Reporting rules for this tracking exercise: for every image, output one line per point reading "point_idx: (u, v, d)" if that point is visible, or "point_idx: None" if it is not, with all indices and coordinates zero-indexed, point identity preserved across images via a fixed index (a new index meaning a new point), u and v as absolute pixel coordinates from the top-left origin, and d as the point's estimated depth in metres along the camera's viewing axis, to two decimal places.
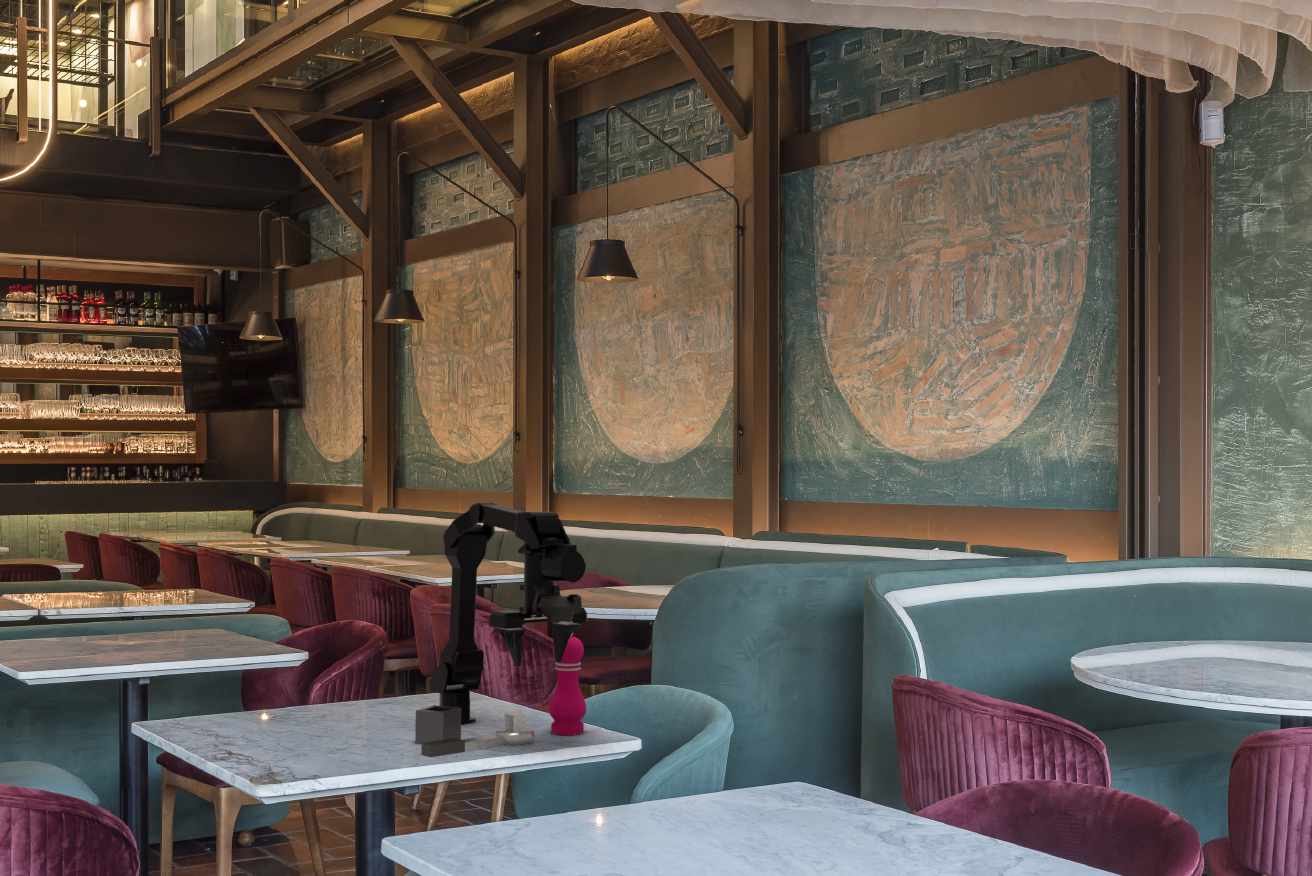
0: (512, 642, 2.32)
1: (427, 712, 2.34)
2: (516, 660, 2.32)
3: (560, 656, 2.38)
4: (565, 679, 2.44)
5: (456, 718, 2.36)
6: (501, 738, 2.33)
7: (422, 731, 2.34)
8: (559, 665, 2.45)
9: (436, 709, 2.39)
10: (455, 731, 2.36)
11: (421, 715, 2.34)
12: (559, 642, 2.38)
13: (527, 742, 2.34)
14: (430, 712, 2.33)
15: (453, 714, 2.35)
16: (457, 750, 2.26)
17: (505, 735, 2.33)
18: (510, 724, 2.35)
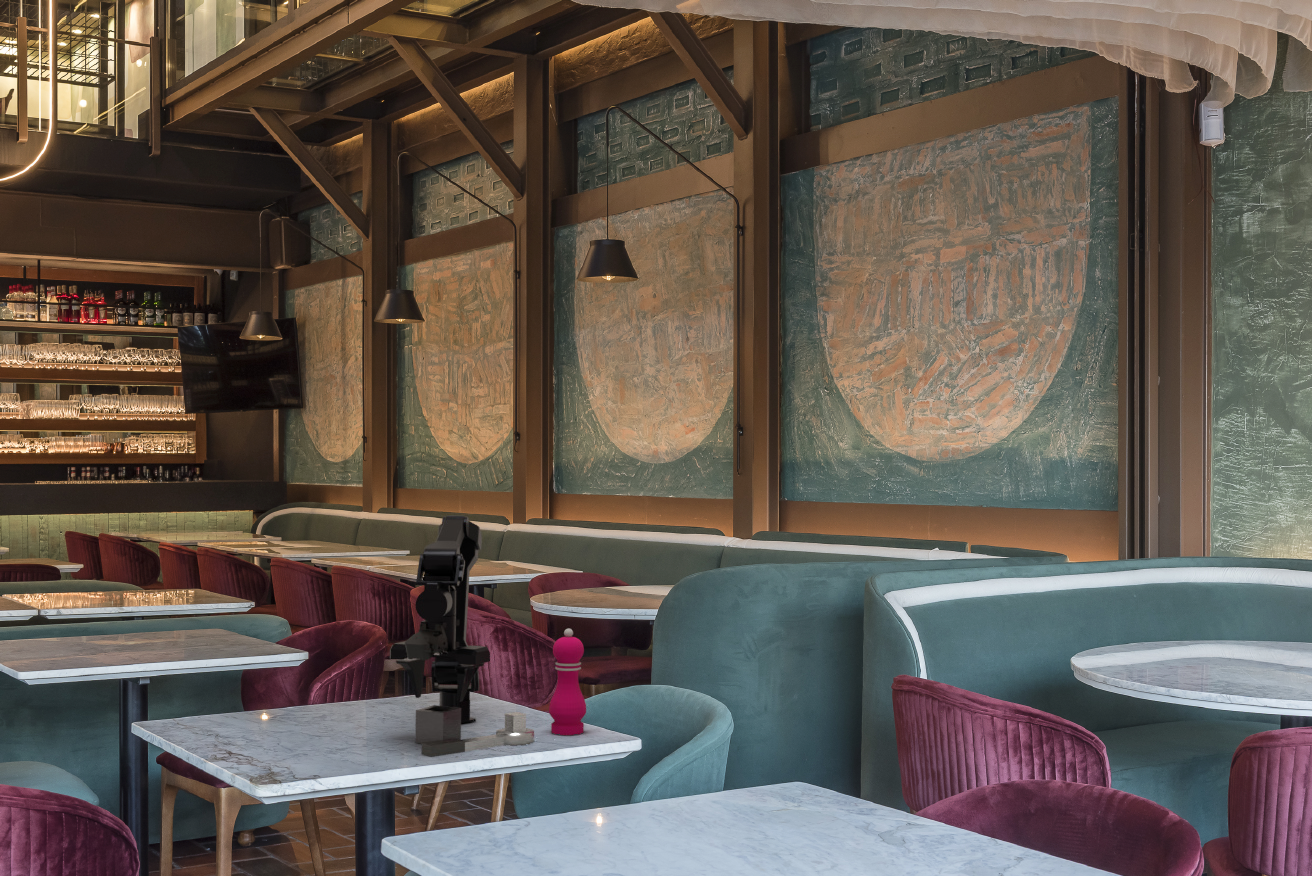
0: None
1: (427, 712, 2.34)
2: None
3: (457, 696, 2.34)
4: (565, 679, 2.44)
5: (456, 718, 2.36)
6: (501, 738, 2.33)
7: (422, 732, 2.34)
8: (559, 665, 2.45)
9: (436, 709, 2.39)
10: (455, 731, 2.36)
11: (421, 715, 2.34)
12: None
13: (527, 742, 2.34)
14: (430, 712, 2.33)
15: (453, 714, 2.35)
16: (457, 750, 2.26)
17: (505, 735, 2.33)
18: (510, 724, 2.35)
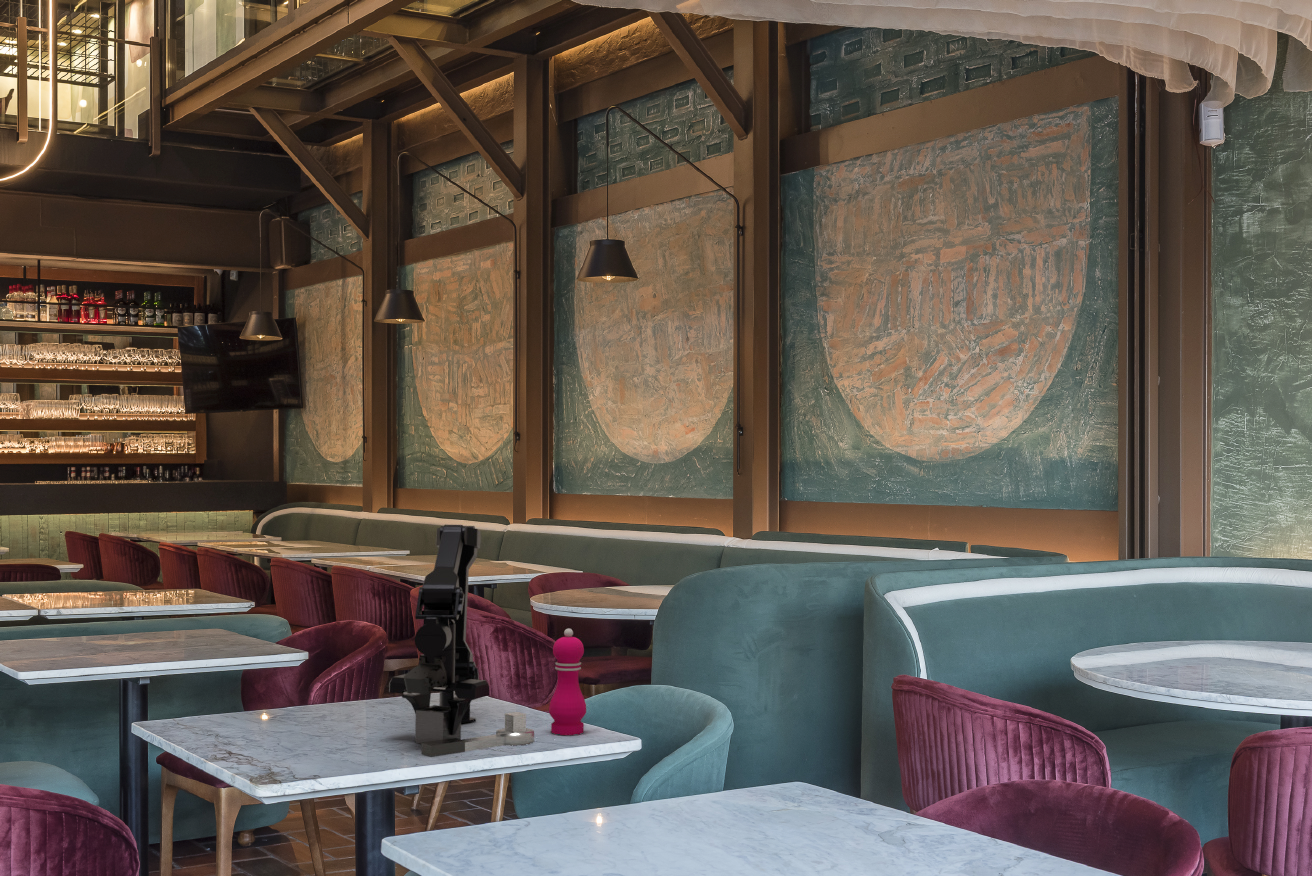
0: None
1: (427, 712, 2.34)
2: None
3: (450, 729, 2.34)
4: (565, 679, 2.44)
5: None
6: (501, 738, 2.33)
7: (422, 731, 2.34)
8: (559, 665, 2.45)
9: (436, 709, 2.39)
10: None
11: (421, 715, 2.34)
12: None
13: (527, 742, 2.34)
14: (430, 712, 2.33)
15: None
16: (457, 750, 2.26)
17: (505, 735, 2.33)
18: (510, 724, 2.35)
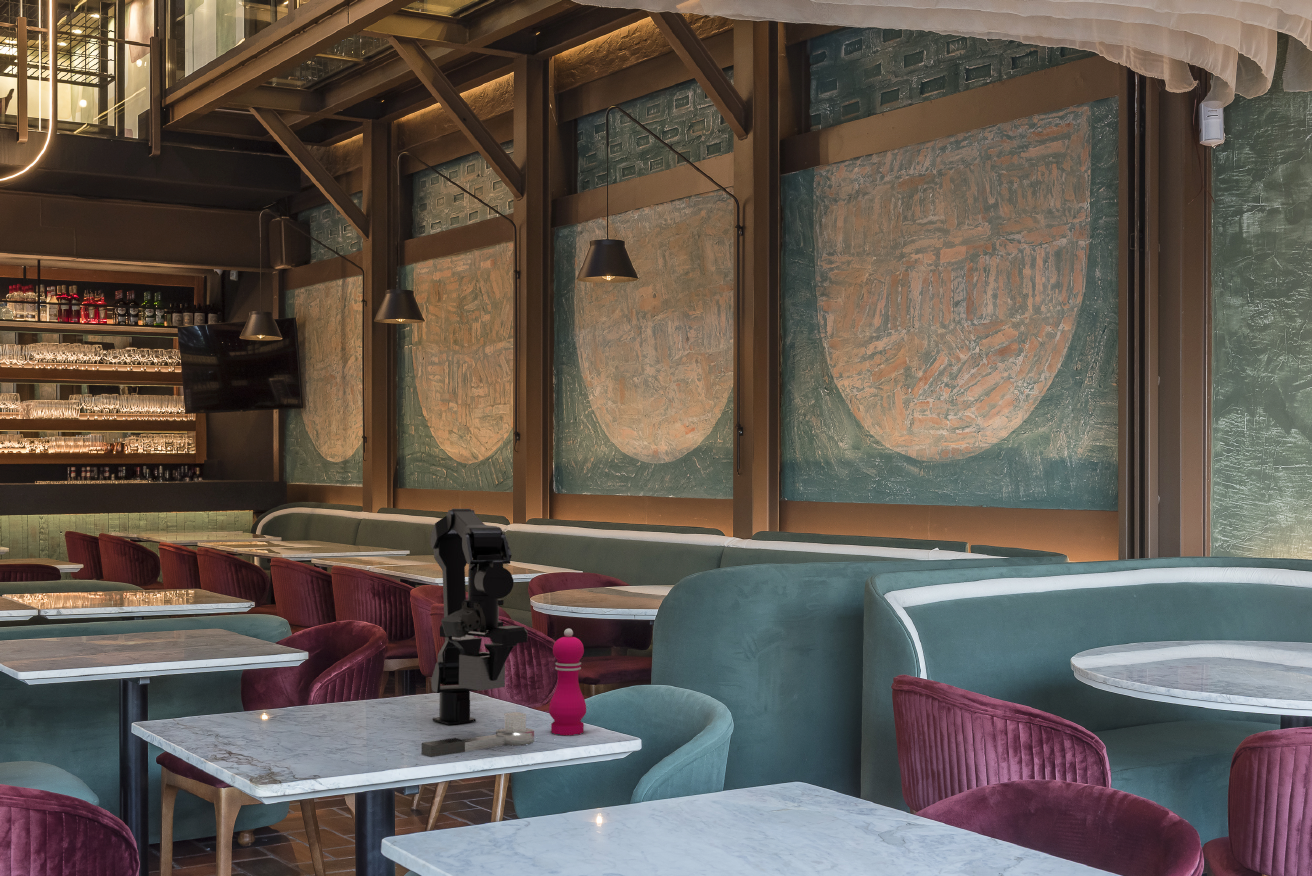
0: None
1: (468, 656, 2.35)
2: None
3: (490, 674, 2.34)
4: (565, 679, 2.44)
5: None
6: (501, 738, 2.33)
7: (464, 676, 2.35)
8: (559, 665, 2.44)
9: (483, 655, 2.39)
10: None
11: (463, 659, 2.35)
12: None
13: (527, 742, 2.34)
14: (470, 657, 2.34)
15: None
16: (457, 750, 2.26)
17: (505, 735, 2.33)
18: (510, 724, 2.35)
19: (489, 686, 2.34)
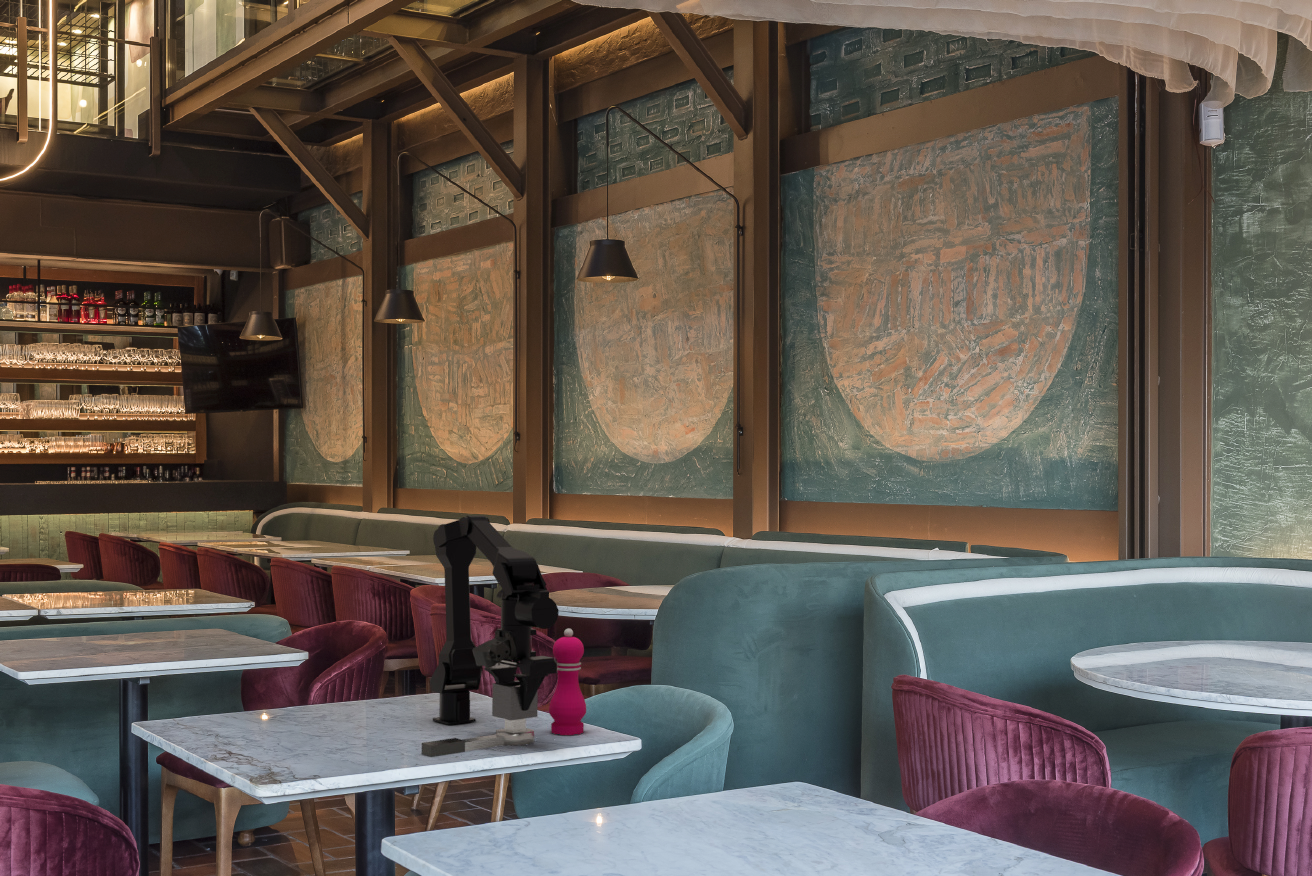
0: None
1: (500, 686, 2.35)
2: None
3: None
4: (565, 679, 2.44)
5: None
6: (501, 738, 2.33)
7: (497, 705, 2.36)
8: (559, 665, 2.45)
9: (518, 684, 2.40)
10: (529, 707, 2.35)
11: (496, 688, 2.36)
12: None
13: (527, 742, 2.34)
14: (502, 686, 2.35)
15: None
16: (457, 750, 2.26)
17: (505, 735, 2.33)
18: (510, 724, 2.35)
19: (520, 716, 2.34)
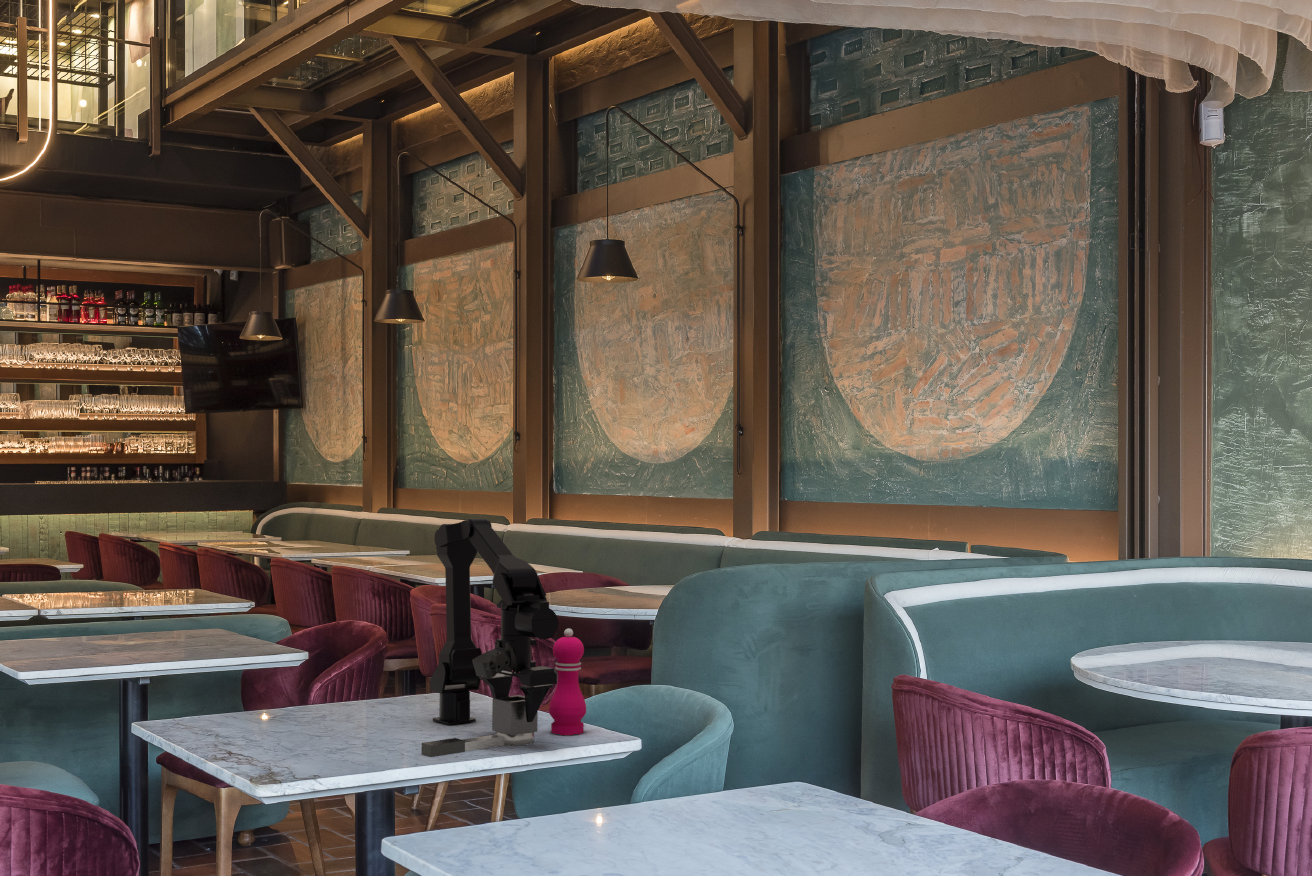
0: None
1: (500, 701, 2.35)
2: None
3: (526, 716, 2.33)
4: (565, 679, 2.44)
5: None
6: (501, 738, 2.33)
7: (497, 720, 2.36)
8: (559, 665, 2.45)
9: (518, 699, 2.39)
10: (529, 722, 2.35)
11: (496, 703, 2.36)
12: None
13: (527, 742, 2.34)
14: (502, 701, 2.35)
15: None
16: (457, 750, 2.26)
17: (505, 735, 2.33)
18: None
19: (520, 731, 2.34)
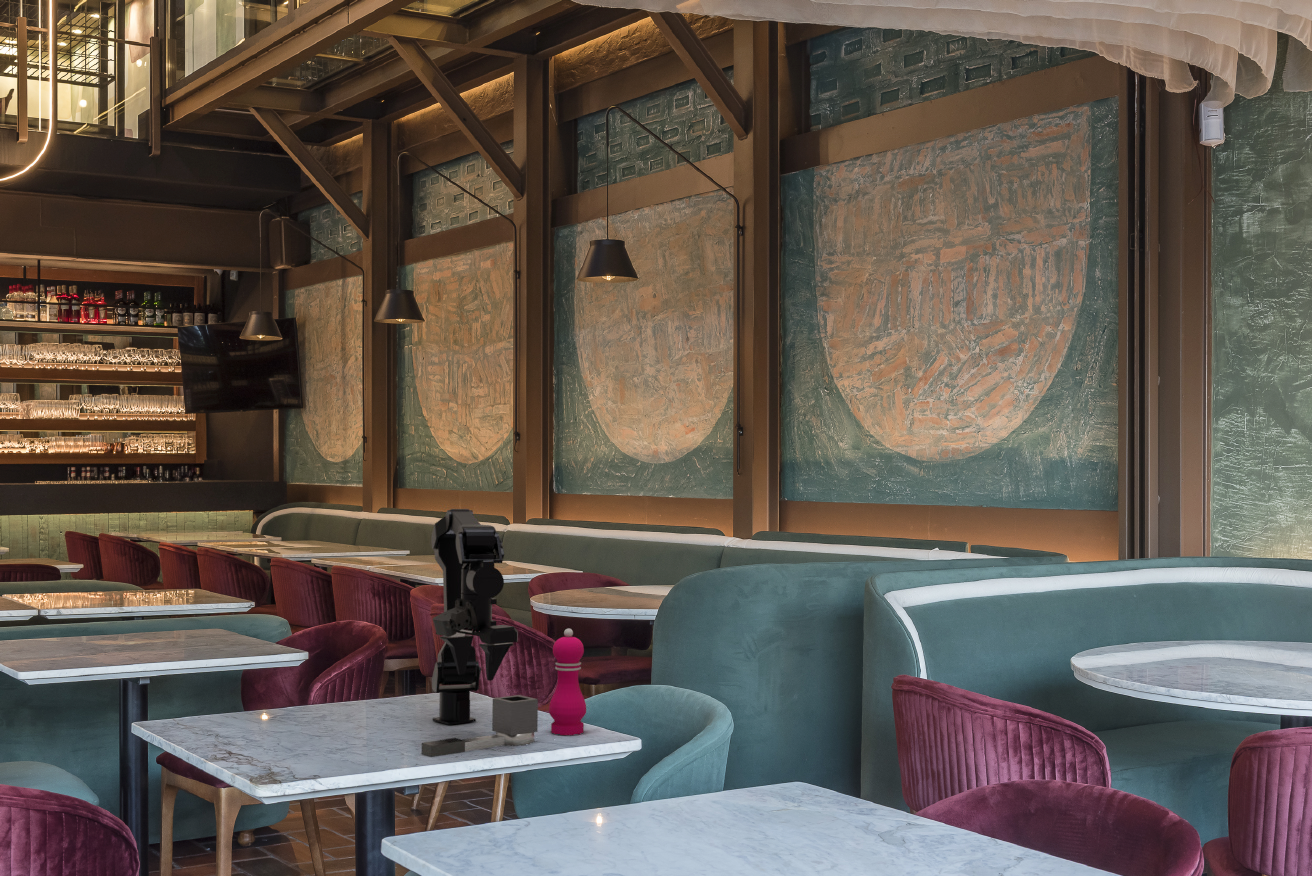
0: None
1: (500, 701, 2.35)
2: None
3: (486, 674, 2.33)
4: (565, 679, 2.44)
5: (530, 709, 2.35)
6: (501, 738, 2.33)
7: (497, 720, 2.36)
8: (559, 665, 2.45)
9: (518, 699, 2.39)
10: (529, 722, 2.35)
11: (496, 703, 2.36)
12: None
13: (527, 742, 2.34)
14: (502, 701, 2.35)
15: (526, 705, 2.35)
16: (457, 750, 2.26)
17: (505, 735, 2.33)
18: None
19: (520, 731, 2.34)
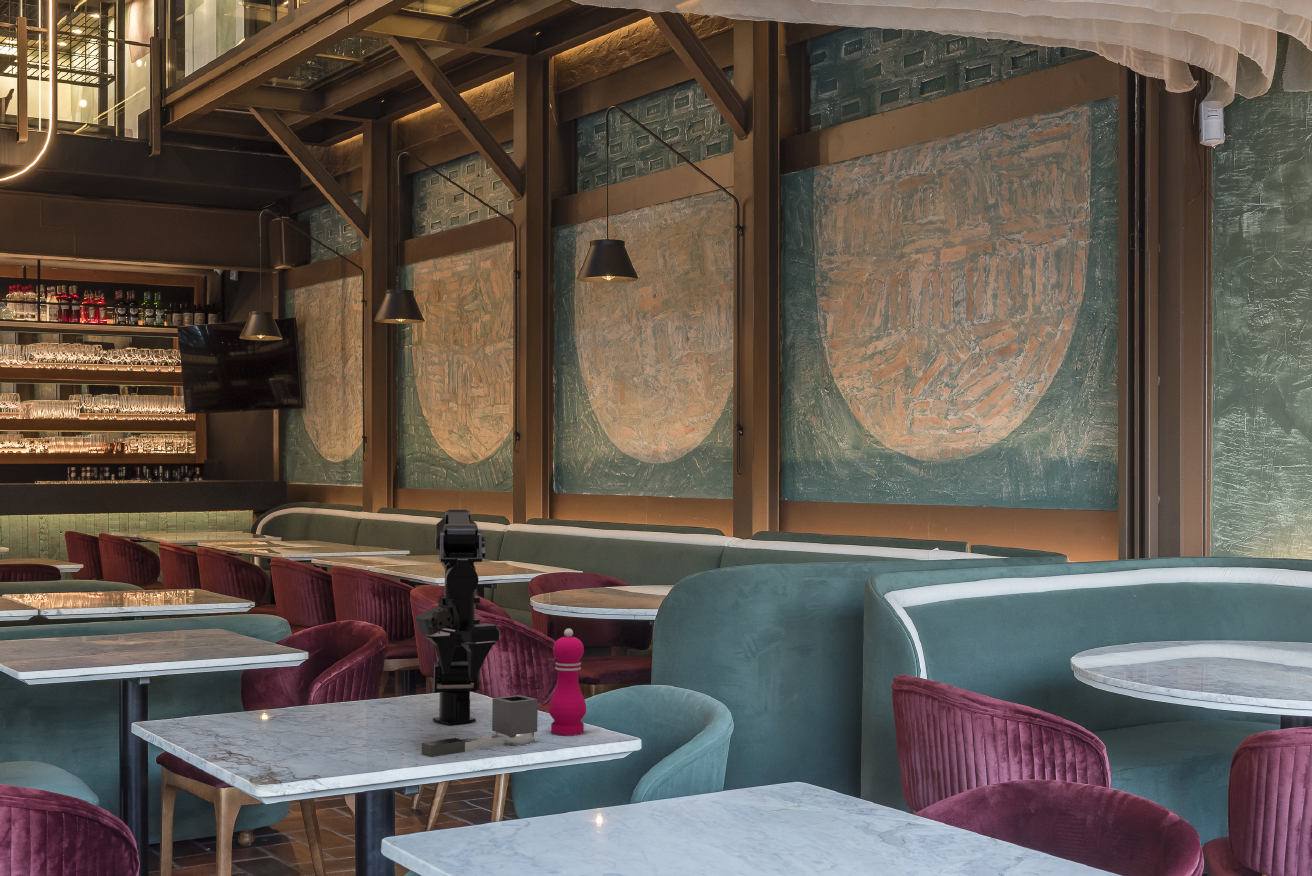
0: None
1: (500, 701, 2.35)
2: None
3: (469, 673, 2.33)
4: (565, 679, 2.44)
5: (530, 709, 2.35)
6: (501, 738, 2.33)
7: (497, 720, 2.36)
8: (559, 665, 2.45)
9: (518, 699, 2.39)
10: (529, 722, 2.35)
11: (496, 703, 2.36)
12: None
13: (527, 742, 2.34)
14: (502, 701, 2.35)
15: (526, 705, 2.35)
16: (457, 750, 2.26)
17: (505, 735, 2.33)
18: None
19: (520, 731, 2.34)
